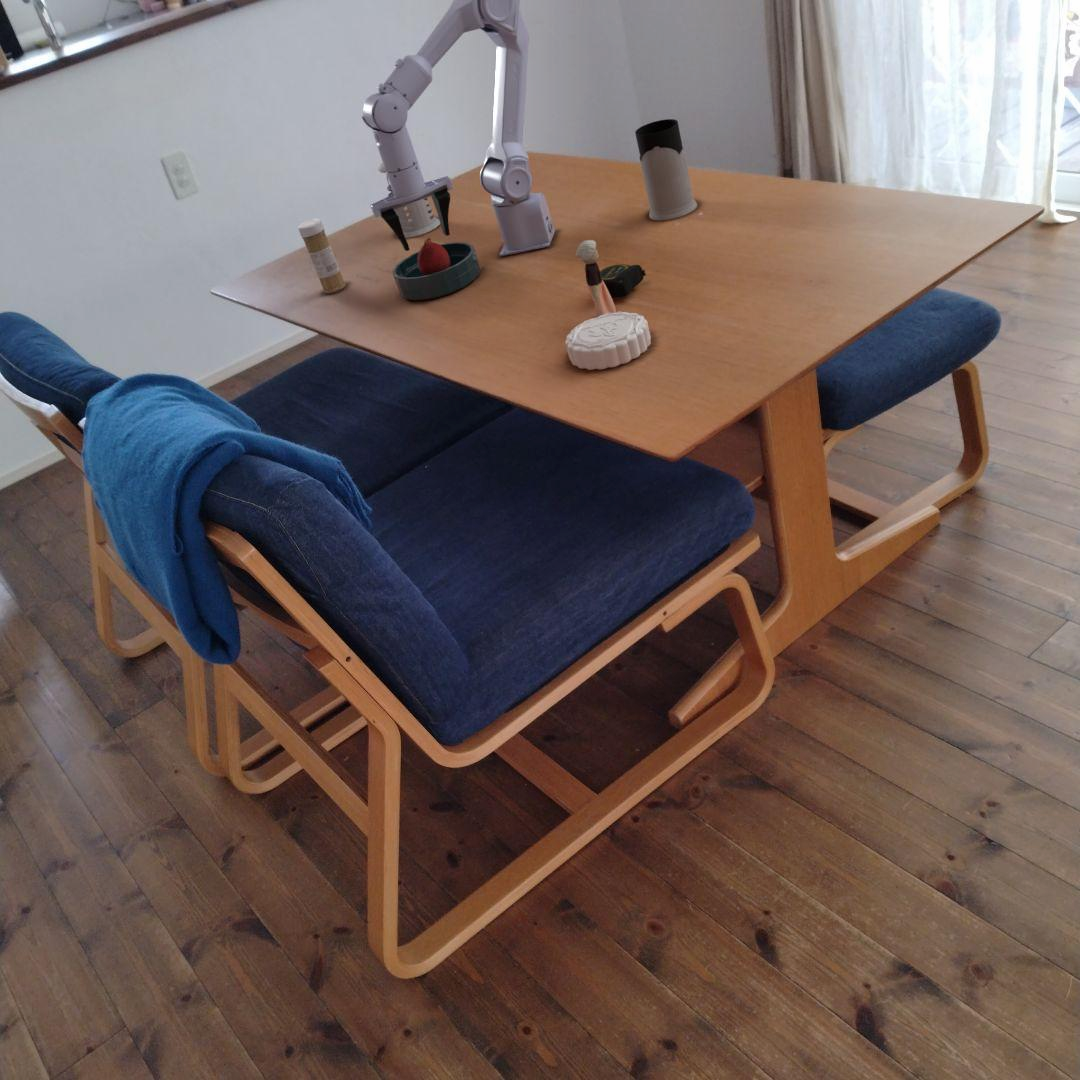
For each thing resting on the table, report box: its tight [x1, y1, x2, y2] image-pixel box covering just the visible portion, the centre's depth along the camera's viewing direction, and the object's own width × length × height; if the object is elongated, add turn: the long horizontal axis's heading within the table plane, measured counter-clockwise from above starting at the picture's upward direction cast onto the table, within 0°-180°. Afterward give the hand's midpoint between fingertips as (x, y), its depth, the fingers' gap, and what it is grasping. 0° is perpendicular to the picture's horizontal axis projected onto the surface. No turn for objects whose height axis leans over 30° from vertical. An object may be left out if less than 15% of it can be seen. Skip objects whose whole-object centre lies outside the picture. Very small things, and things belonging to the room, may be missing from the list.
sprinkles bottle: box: [297, 218, 346, 294], centre depth 209 cm, size 5×5×14 cm
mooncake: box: [565, 311, 652, 371], centre depth 157 cm, size 12×12×4 cm
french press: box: [377, 162, 441, 239], centre depth 225 cm, size 10×12×25 cm
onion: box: [417, 237, 450, 275], centre depth 197 cm, size 6×6×8 cm
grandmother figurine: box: [575, 239, 617, 318], centre depth 164 cm, size 8×4×13 cm, turn 12°
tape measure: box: [600, 263, 646, 300], centre depth 173 cm, size 7×7×4 cm
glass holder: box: [634, 118, 698, 221], centre depth 197 cm, size 9×14×15 cm, turn 167°
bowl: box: [392, 241, 482, 301], centre depth 199 cm, size 15×15×4 cm
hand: (426, 241), depth 196 cm, fingers open, 7 cm apart
